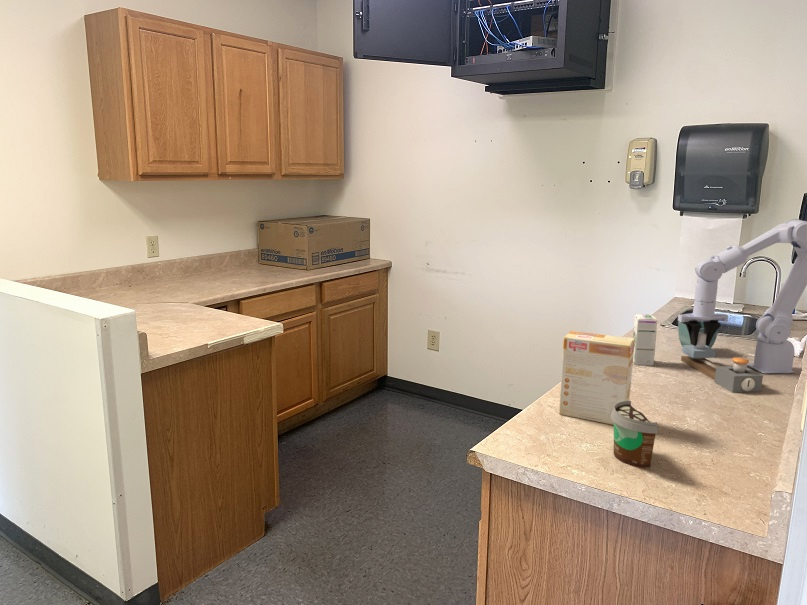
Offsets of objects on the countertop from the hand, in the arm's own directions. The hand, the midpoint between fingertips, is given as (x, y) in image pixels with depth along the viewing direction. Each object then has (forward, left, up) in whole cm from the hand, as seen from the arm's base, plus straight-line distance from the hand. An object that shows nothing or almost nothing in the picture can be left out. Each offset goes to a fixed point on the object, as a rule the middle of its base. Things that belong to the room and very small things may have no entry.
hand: (699, 344), depth 181 cm
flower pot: (-7, -13, -6) cm, 16 cm away
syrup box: (+16, -3, -6) cm, 17 cm away
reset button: (0, +19, -2) cm, 19 cm away
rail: (0, +5, -6) cm, 8 cm away
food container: (+49, +56, -6) cm, 75 cm away
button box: (0, +19, -6) cm, 20 cm away
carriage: (0, 0, -3) cm, 3 cm away
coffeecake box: (+47, +35, -6) cm, 59 cm away
